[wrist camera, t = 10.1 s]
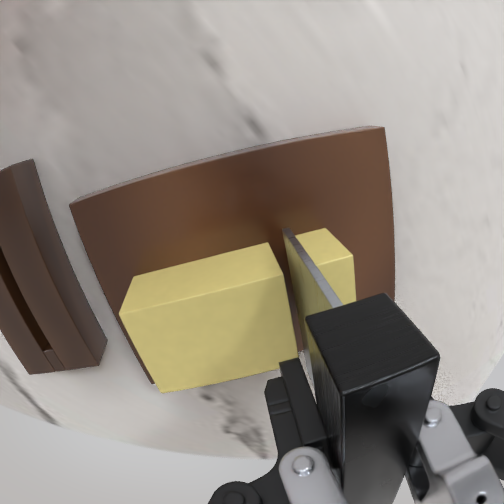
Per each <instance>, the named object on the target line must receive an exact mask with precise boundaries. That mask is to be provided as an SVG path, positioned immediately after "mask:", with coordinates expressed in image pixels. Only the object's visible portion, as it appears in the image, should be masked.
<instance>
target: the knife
mask: <svg viewBox="0 0 504 504" xmlns="http://www.w3.org/2000/svg"><path fill="white" fill-rule="evenodd" d="M282 231H283V237H284V242H285V247H286V252H287V258H288V263H289V269H290V274H291V279H292V285H293V291H294V296H295V302H296V308H297V313H298V319H299V325H300V331H301V337H302V343H303V349H304V355H305V361H306V367H307V371H308V374H309V376H310V379H311V382H312V384H313V387H314V389H315V395H316V403H317V411H318V413H319V416H320V419H321V421H322V424H323V427H324V430H325V432H326V435H327V439H328V450H329V462H330V466H331V468H332V470H333V473H334V475H335V477H336V479H337V481H338V483H339V485H340V487H341V489H342V491H343V493H344V495H345V497H346V499H347V501H348V504H392V503H393V501H394V499H395V497H396V494H397V492H398V490H399V487H400V485H401V483H402V480H403V478H404V475H405V473H406V470H407V468H408V465H409V463H410V460H411V457H412V455H413V452H414V449H415V446H416V443H417V441H418V438H419V435H420V432H421V428H422V425H423V422H424V419H425V416H426V412H427V409H428V405H429V402H430V398H431V394H432V391H433V387H434V383H435V379H436V374H437V370H438V366H439V361H440V354H439V352H438V351H437V350H436V349H435V348H434V346H433V345H432V344H431V343H430V342H429V341H428V339H427V338H426V337H425V336H424V335H423V334H422V332H421V331H420V330H419V329H418V328H417V327H416V326H415V324H414V323H413V322H412V321H411V320H410V319H409V318H408V317H407V315H406V314H405V313H404V312H403V311H402V310H401V309H400V308H399V307H398V305H397V304H396V303H395V302H394V301H393V300H392V299H391V298H390V297H389V296H388V295H387V293H380V294H377V295H374V296H371V297H367V298H364V299H361V300H358V301H355V302H351V303H348V304H345V305H343V304H342V302H341V301H340V299H339V298H338V296H337V295H336V293H335V292H334V291H333V289H332V288H331V286H330V285H329V283H328V282H327V280H326V279H325V278H324V276H323V275H322V273H321V272H320V270H319V269H318V268H317V266H316V265H315V263H314V262H313V260H312V259H311V258H310V256H309V255H308V253H307V252H306V251H305V249H304V248H303V246H302V245H301V244H300V242H299V241H298V239H297V238H296V237H295V235H294V234H293V232H292V231H291V230H290V228H285V229H282Z"/></svg>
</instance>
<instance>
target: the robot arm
mask: <svg viewBox="0 0 504 504" xmlns="http://www.w3.org/2000/svg"><path fill="white" fill-rule="evenodd" d="M279 367H280V371H281V375H282V377H278V378H274V379H270V380H268V381H267V385H266V388H265V391H264V393H265V398H266V402H267V406H268V411H269V415H270V420H271V424H272V428H273V433H274V437H275V441H276V446H277V450H278V458H277V462H276V464H275V466H274V467H273V468H272V469H271V470H270V472H268V473H267V474H265V475H264V476H262V477H260V478H258V479H257V480H255V481H252V482H250V483H245V482H240V481H238V482H237V481H235V482H230V483H226V484H224V485H222V486H220V487H219V488H218V489H217V490H216V491H215V492H214V494H213V495H212V497H211V499H210V501H209V503H208V504H348V501H347V499H346V497H345V495H344V493H343V491H342V489H341V487H340V485H339V483H338V481H337V479H336V477H335V475H334V473H333V470H332V468H331V466H330V462H329V450H328V439H327V435H326V432H325V430H324V427H323V424H322V421H321V419H320V416H319V413H318V411H317V404H316V402H315V399H314V396H313V394H312V391H311V388H310V386H309V383H308V380H307V378H306V375H305V372H304V370H303V367H302V365H301V362H300V359H299V357H297V358H293V359H289V360H286V361H282V362H279ZM405 477H406V480H407V482H408V485H409V488H410V491H411V494H412V497H413V499H414V503H415V504H504V488H503V486H502V484H501V482H500V480H499V479H501V480H504V391H502V390H499V389H495V388H494V389H493V388H491V389H486V390H484V391H482V392H481V393H480V394H479V395H478V396H477V397H476V400H475V402H470V403H466V404H461V405H455V406H448V405H447V404H445V403H443V402H441V401H437V400H434V399H433V398H432V397H431V398H430V402H429V405H428V409H427V412H426V416H425V419H424V422H423V425H422V428H421V432H420V435H419V438H418V441H417V443H416V446H415V449H414V452H413V455H412V457H411V460H410V463H409V465H408V468H407V470H406V473H405Z"/></svg>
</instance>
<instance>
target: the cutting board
mask: <svg viewBox="0 0 504 504" xmlns="http://www.w3.org/2000/svg"><path fill="white" fill-rule="evenodd" d="M69 207H70V209H71V212H72V215H73V218H74V221H75V223H76V226H77V229H78V232H79V234H80V237H81V239H82V242H83V245H84V247H85V250H86V252H87V255H88V257H89V259H90V262H91V264H92V267H93V269H94V271H95V274H96V276H97V278H98V281H99V283H100V285H101V287H102V290H103V292H104V294H105V296H106V298H107V300H108V303H109V305H110V307H111V309H112V311H113V313H114V315H115V317H116V319H117V321H118V323H119V325H120V327H121V329H122V331H123V333H124V335H125V337H126V339H127V341H128V343H129V345H130V347H131V348H132V350H133V352H134V354H135V356H136V358H137V359H138V361H139V363H140V365H141V367H142V368H143V370H144V372H145V374H146V375H147V377H148V379H149V381H150V382H151V384H155V382H154V380H153V379H152V377H151V375H150V373H149V371H148V370H147V368H146V366H145V364H144V362H143V361H142V359H141V357H140V355H139V353H138V351H137V349H136V348H135V346H134V344H133V342H132V340H131V338H130V336H129V334H128V332H127V330H126V328H125V326H124V324H123V322H122V320H121V318H120V316H119V312H120V309H121V307H122V304H123V302H124V299H125V297H126V294H127V291H128V289H129V287H130V284H131V282H132V279H133V277H134V276H138V275H141V274H145V273H149V272H153V271H157V270H161V269H165V268H169V267H173V266H176V265H180V264H184V263H188V262H192V261H196V260H200V259H204V258H208V257H212V256H216V255H220V254H223V253H227V252H231V251H235V250H239V249H243V248H247V247H251V246H255V245H259V244H263V243H269V246H270V248H271V250H272V252H273V254H274V256H275V258H276V260H277V262H278V264H279V266H280V268H281V270H282V272H283V275H284V280H285V285H286V290H287V296H288V301H289V306H290V311H291V317H292V322H293V328H294V333H295V338H296V344H297V350H298V352H299V351H302V350H304V349H303V343H302V337H301V331H300V325H299V319H298V313H297V308H296V302H295V296H294V291H293V285H292V279H291V274H290V269H289V263H288V258H287V252H286V247H285V242H284V237H283V231H282V229H285V228H290V230H291V231H292V232H293V234H294V235H299V234H303V233H307V232H311V231H315V230H319V229H323V228H326V229H327V230H328V231H329V232H330V233H331V234H332V235H333V236H334V237H335V238H336V239H337V240H338V241H339V242H340V243H341V244H342V245H343V246H344V247H345V248H346V249H347V250H348V251H349V252H350V253H351V254H352V255H353V261H354V274H355V290H356V301H358V300H361V299H364V298H367V297H371V296H374V295H377V294H380V293H387V295H388V296H389V297H390V298H391V299H392V300H393V301H395V248H394V222H393V205H392V191H391V179H390V169H389V160H388V151H387V143H386V135H385V128H384V127H378V126H365V127H358V128H351V129H345V130H338V131H332V132H326V133H320V134H315V135H309V136H303V137H298V138H293V139H288V140H283V141H278V142H273V143H268V144H264V145H259V146H254V147H250V148H246V149H241V150H237V151H233V152H229V153H224V154H220V155H216V156H212V157H208V158H205V159H201V160H197V161H193V162H190V163H186V164H182V165H179V166H175V167H172V168H168V169H165V170H161V171H158V172H155V173H151V174H148V175H145V176H141V177H138V178H135V179H132V180H129V181H126V182H123V183H119V184H116V185H113V186H110V187H108V188H105V189H102V190H99V191H96V192H93V193H90V194H87V195H85V196H82V197H79V198H78V199H76V200H75V201H74V202H72V203H71V204H69Z"/></svg>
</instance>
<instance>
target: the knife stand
mask: <svg viewBox="0 0 504 504" xmlns="http://www.w3.org/2000/svg"><path fill="white" fill-rule="evenodd" d="M0 330H1V332H2V333H3V335H4V337H5V338H6V340H7V342H8V343H9V345H10V346H11V348H12V350H13V351H14V353H15V354H16V356H17V357H18V359H19V360H20V362H21V363H22V365H23V366H24V368H25V369H26V371H27V372H28V373H29V374H30V375H31V374H40V373H49V372H55V371H64V370H73V369H80V368H87V367H93V366H99V363H100V361H101V358H102V355H103V352H104V349H105V346H106V343H107V339H106V337H105V335H104V333H103V331H102V329H101V327H100V325H99V324H98V322H97V320H96V318H95V316H94V314H93V312H92V310H91V308H90V306H89V304H88V302H87V300H86V298H85V295H84V293H83V291H82V289H81V287H80V285H79V283H78V280H77V278H76V276H75V274H74V271H73V269H72V267H71V265H70V262H69V260H68V258H67V255H66V253H65V250H64V248H63V245H62V243H61V240H60V238H59V235H58V233H57V230H56V227H55V225H54V222H53V219H52V216H51V214H50V211H49V208H48V205H47V202H46V199H45V196H44V193H43V190H42V187H41V184H40V181H39V177H38V174H37V171H36V167H35V164H34V160H33V159H29V160H26V161H23V162H20V163H17V164H14V165H11V166H8V167H7V168H5V169H3V170H1V171H0Z"/></svg>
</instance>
